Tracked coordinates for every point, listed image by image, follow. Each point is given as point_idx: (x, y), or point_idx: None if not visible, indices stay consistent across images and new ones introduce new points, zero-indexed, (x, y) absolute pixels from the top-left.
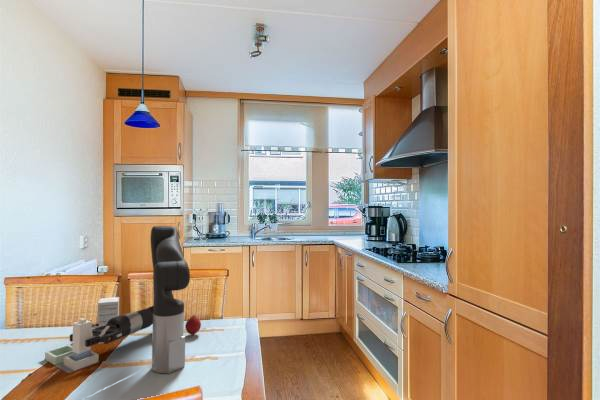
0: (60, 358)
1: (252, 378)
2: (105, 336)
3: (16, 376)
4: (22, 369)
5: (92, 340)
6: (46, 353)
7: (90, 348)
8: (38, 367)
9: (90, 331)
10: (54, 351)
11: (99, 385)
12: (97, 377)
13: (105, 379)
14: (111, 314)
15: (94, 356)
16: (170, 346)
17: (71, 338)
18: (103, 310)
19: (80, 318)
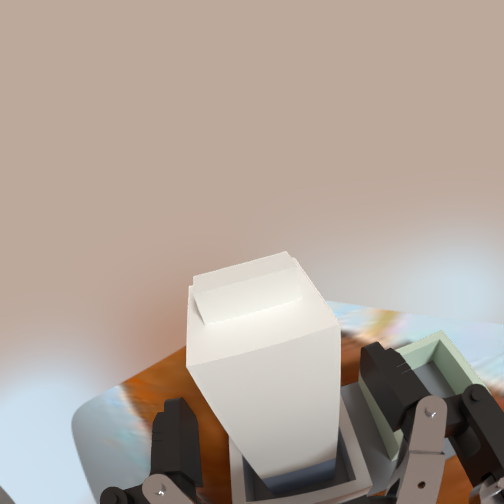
0: (365, 386)
1: None
2: (108, 488)
3: (352, 310)
4: (396, 316)
5: (153, 428)
6: (431, 337)
7: (259, 476)
8: (388, 347)
9: (225, 424)
10: (449, 359)
11: (86, 438)
12: (129, 463)
13: (97, 465)
14: None
15: (234, 495)
16: None
17: (362, 363)
18: None
19: (285, 260)
